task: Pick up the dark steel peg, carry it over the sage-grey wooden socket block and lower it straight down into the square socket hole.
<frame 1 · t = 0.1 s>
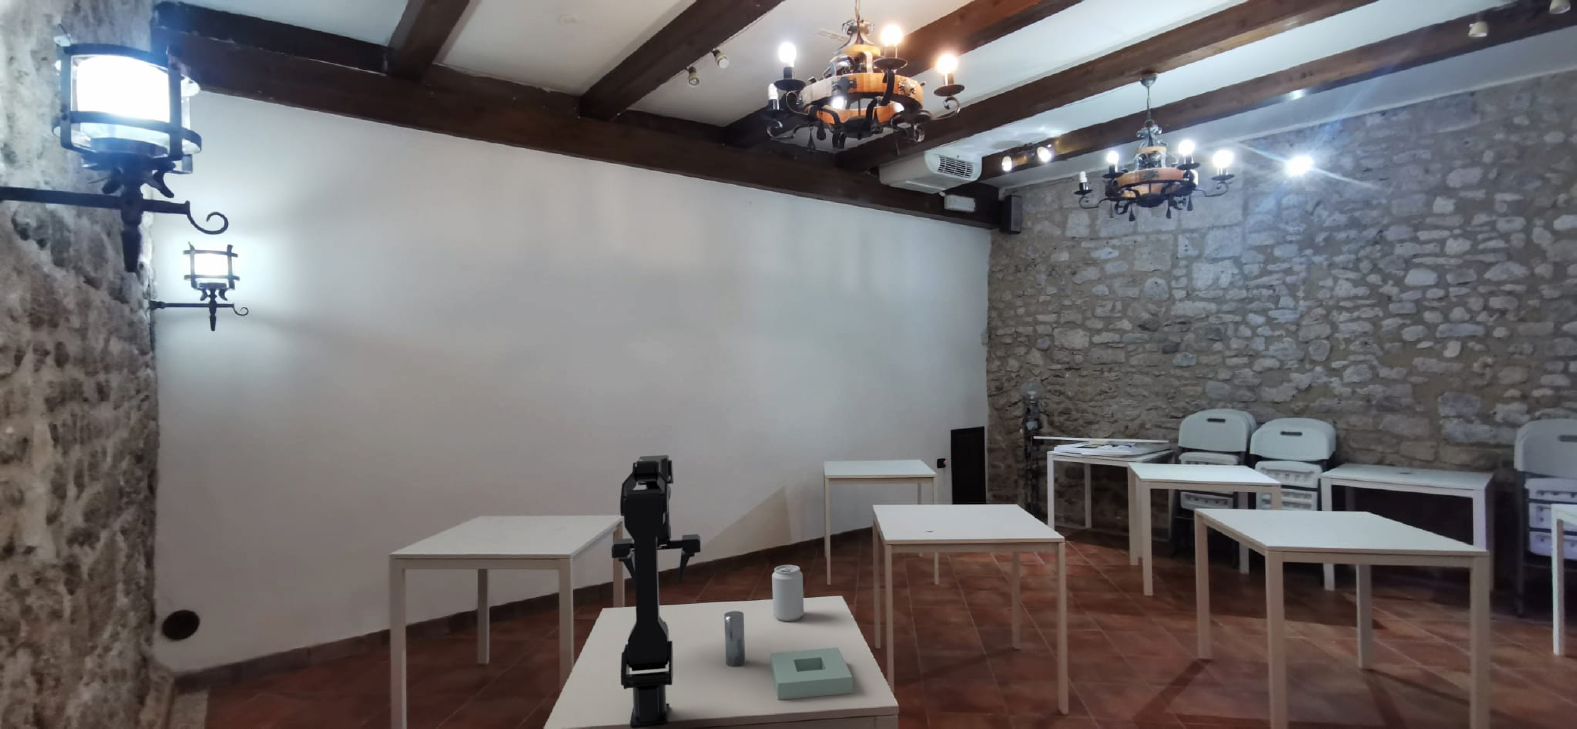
hand: (658, 585, 154), 15 cm above the table, fingers open, 9 cm apart
peg: (735, 662, 148), on the table
socket block: (810, 679, 138), on the table
can: (788, 617, 173), on the table
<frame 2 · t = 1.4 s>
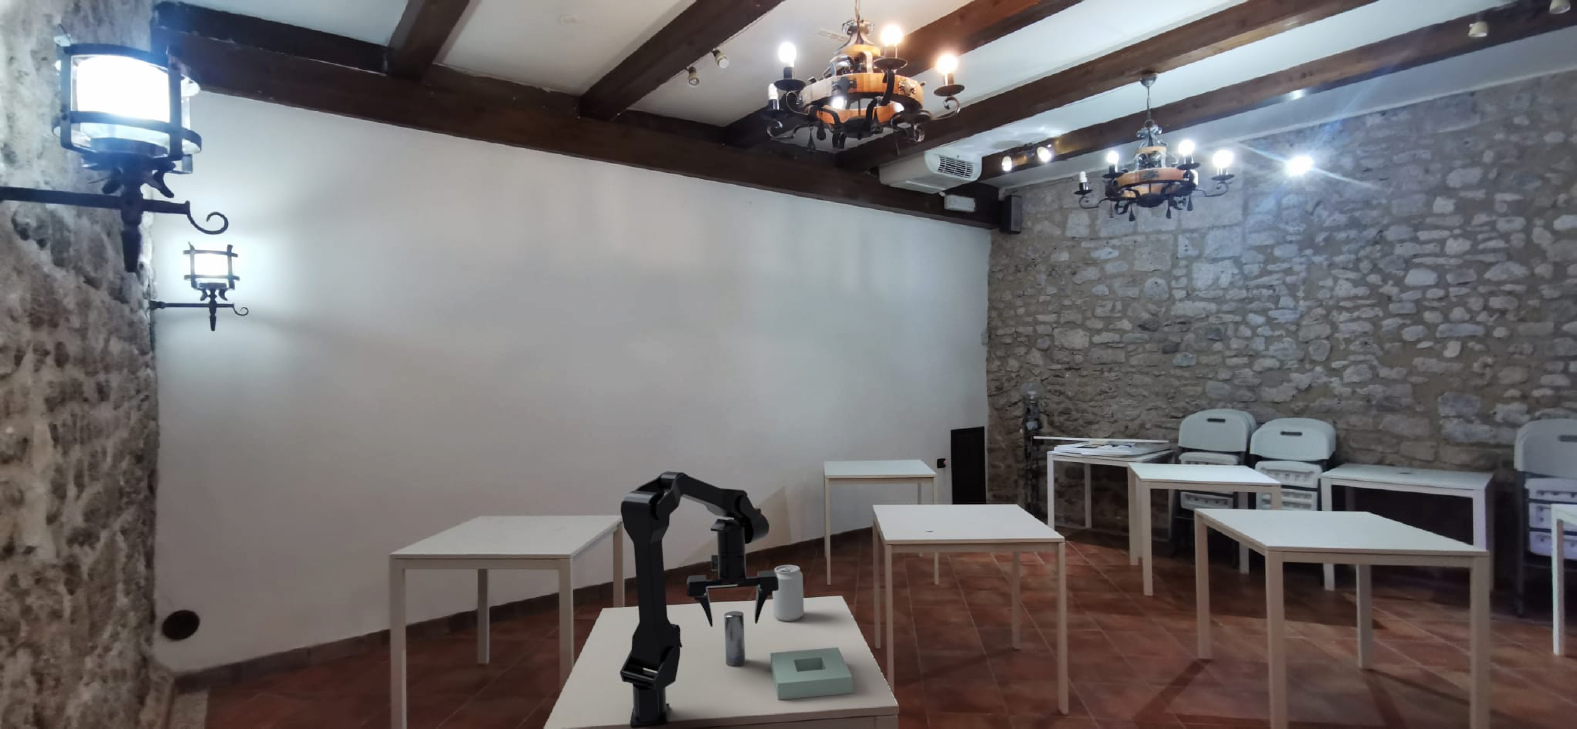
hand: (733, 624, 148), 8 cm above the table, fingers open, 9 cm apart
nothing on the table moved.
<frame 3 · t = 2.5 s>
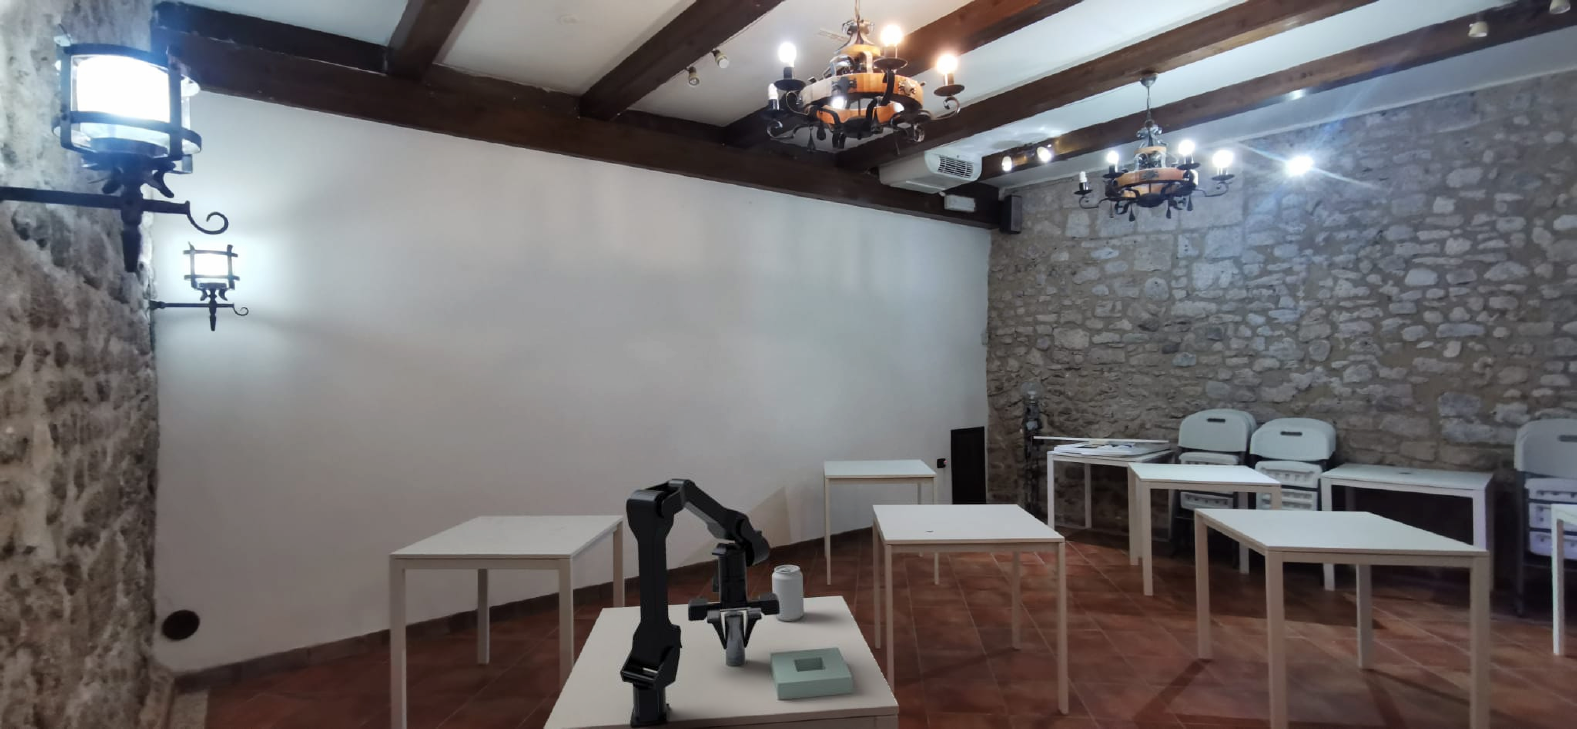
hand: (735, 647, 148), 3 cm above the table, fingers closed on peg, 4 cm apart
peg: (735, 662, 148), on the table, touching gripper
everything else where it was.
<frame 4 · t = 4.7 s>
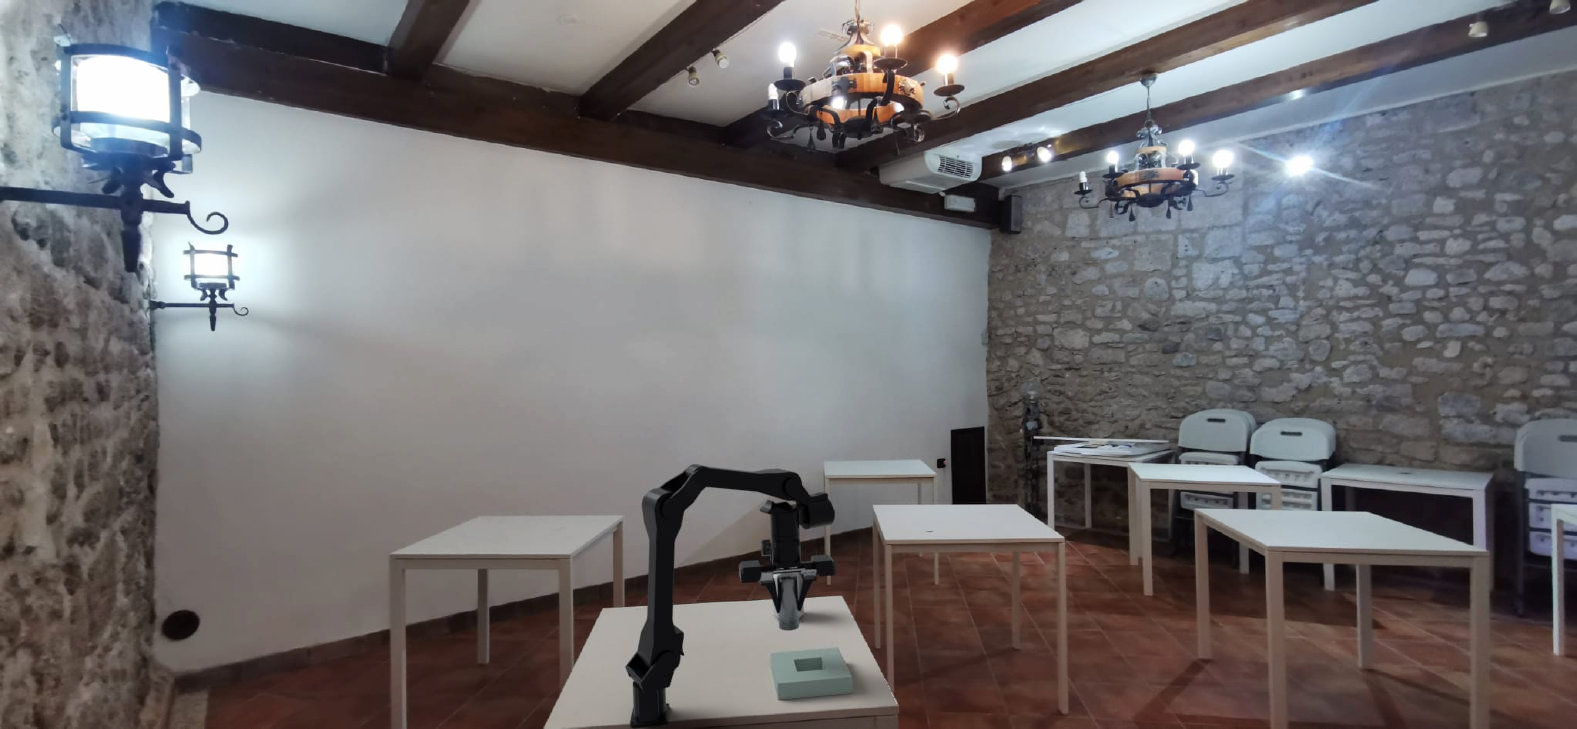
hand: (788, 611, 141), 13 cm above the table, fingers closed on peg, 4 cm apart
peg: (789, 626, 141), point 9 cm above the table, touching gripper
everything else where it was.
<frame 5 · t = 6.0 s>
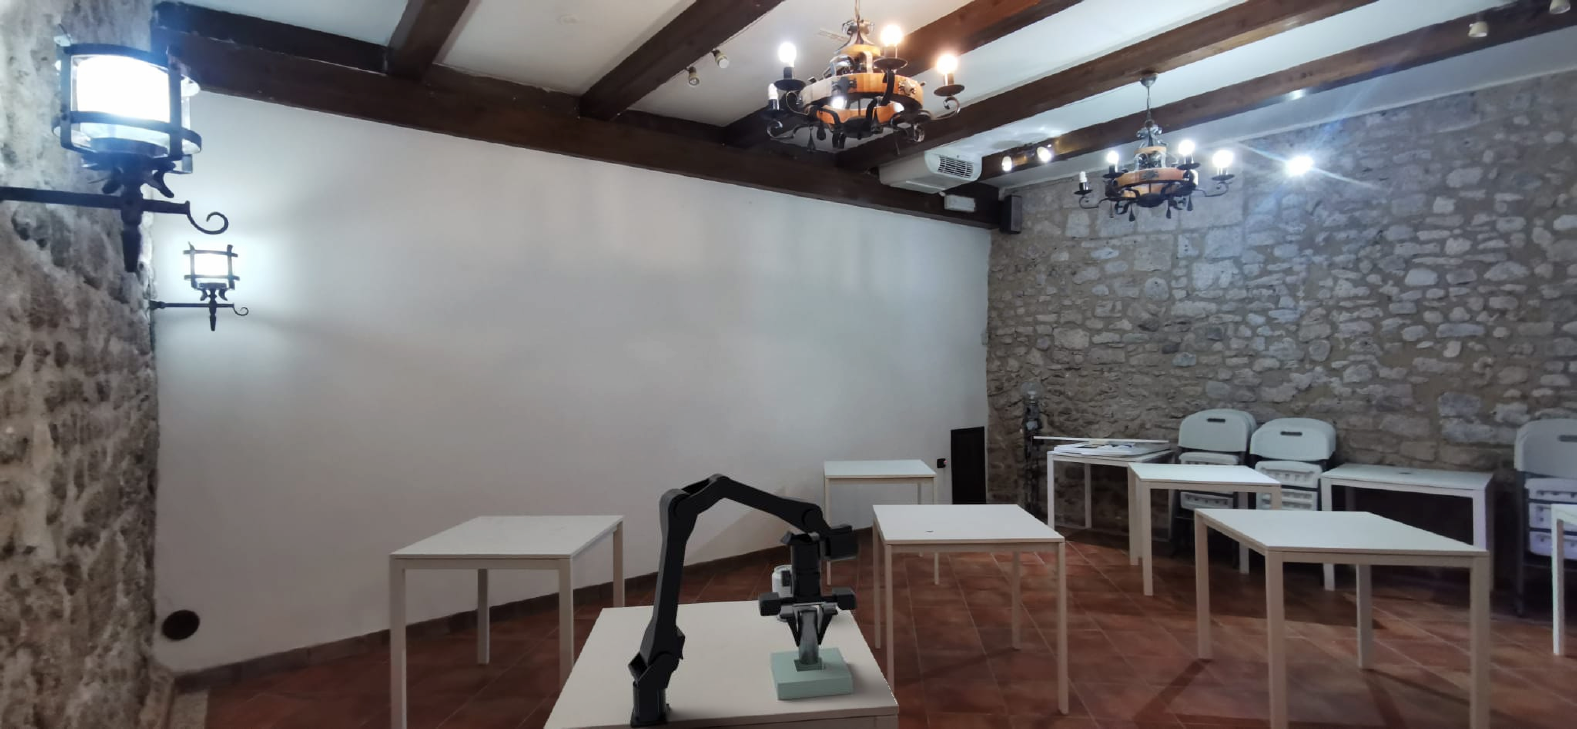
hand: (808, 645, 138), 7 cm above the table, fingers closed on peg, 4 cm apart
peg: (808, 660, 138), point 4 cm above the table, touching gripper
everything else where it was.
when the fingers open (4 cm above the table, at t = 7.0 s): peg stays where it is, resting in socket block.
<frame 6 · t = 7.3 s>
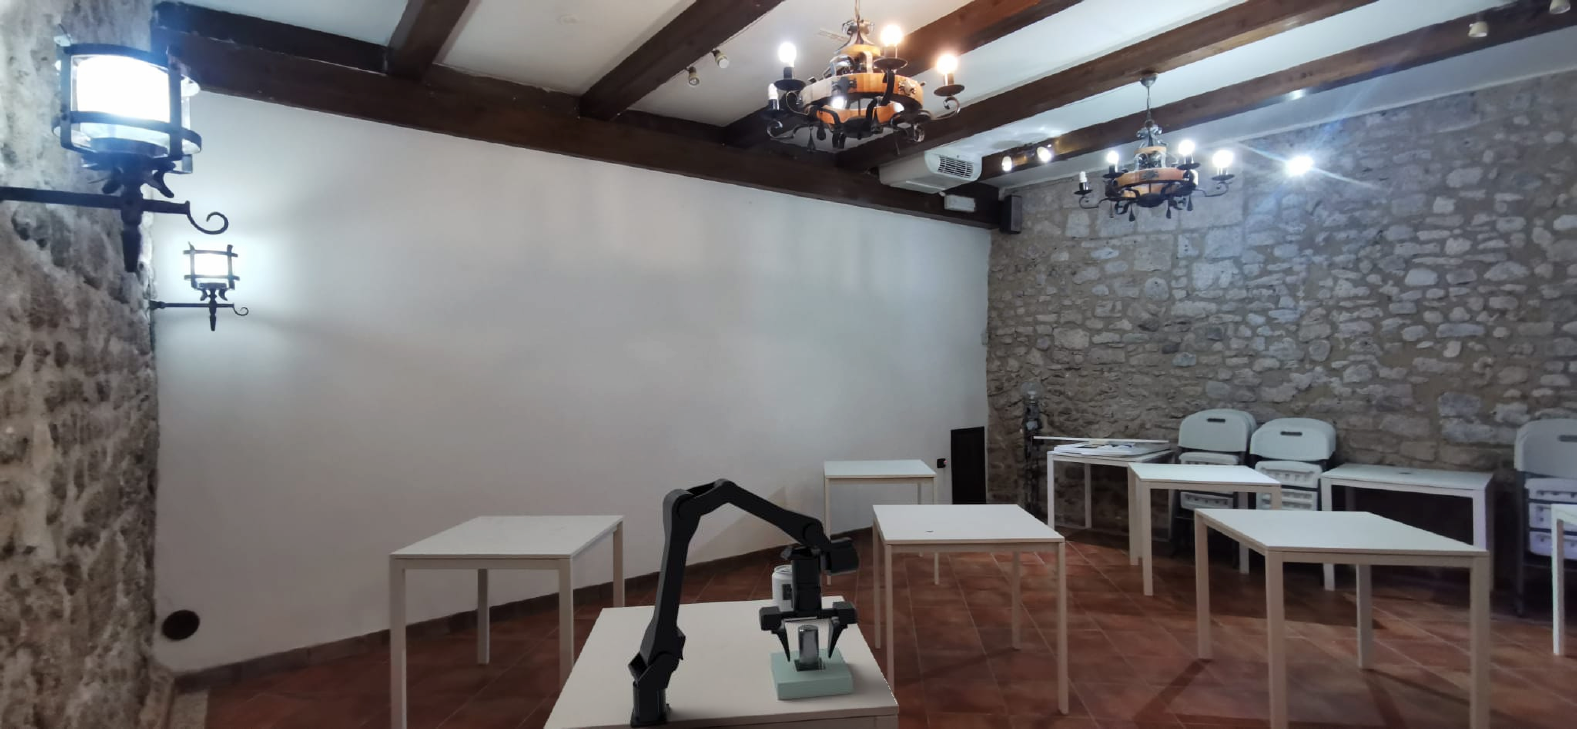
hand: (809, 659, 138), 4 cm above the table, fingers open, 8 cm apart
peg: (809, 679, 138), resting in socket block
everything else where it was.
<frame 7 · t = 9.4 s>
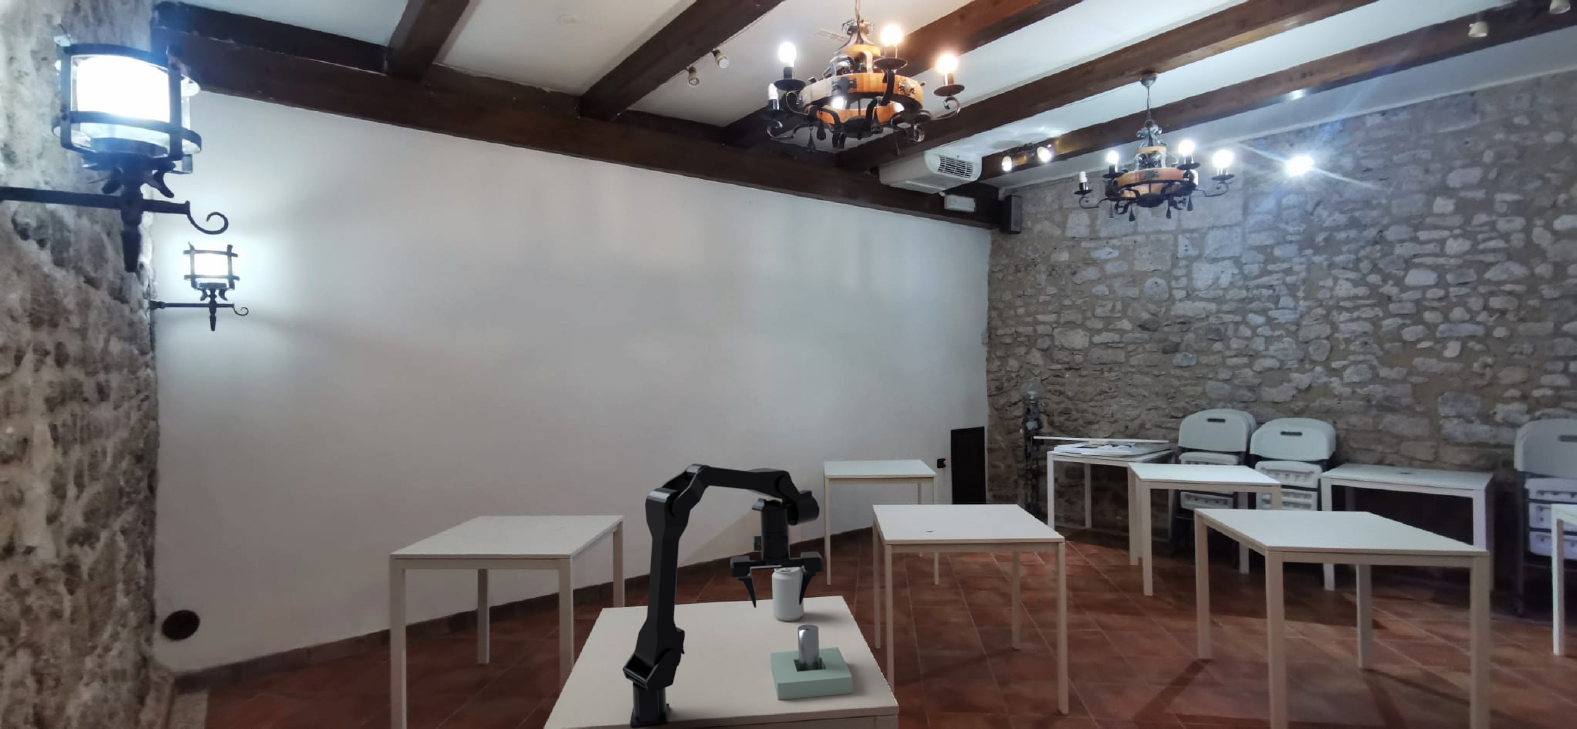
hand: (777, 605, 146), 12 cm above the table, fingers open, 9 cm apart
nothing on the table moved.
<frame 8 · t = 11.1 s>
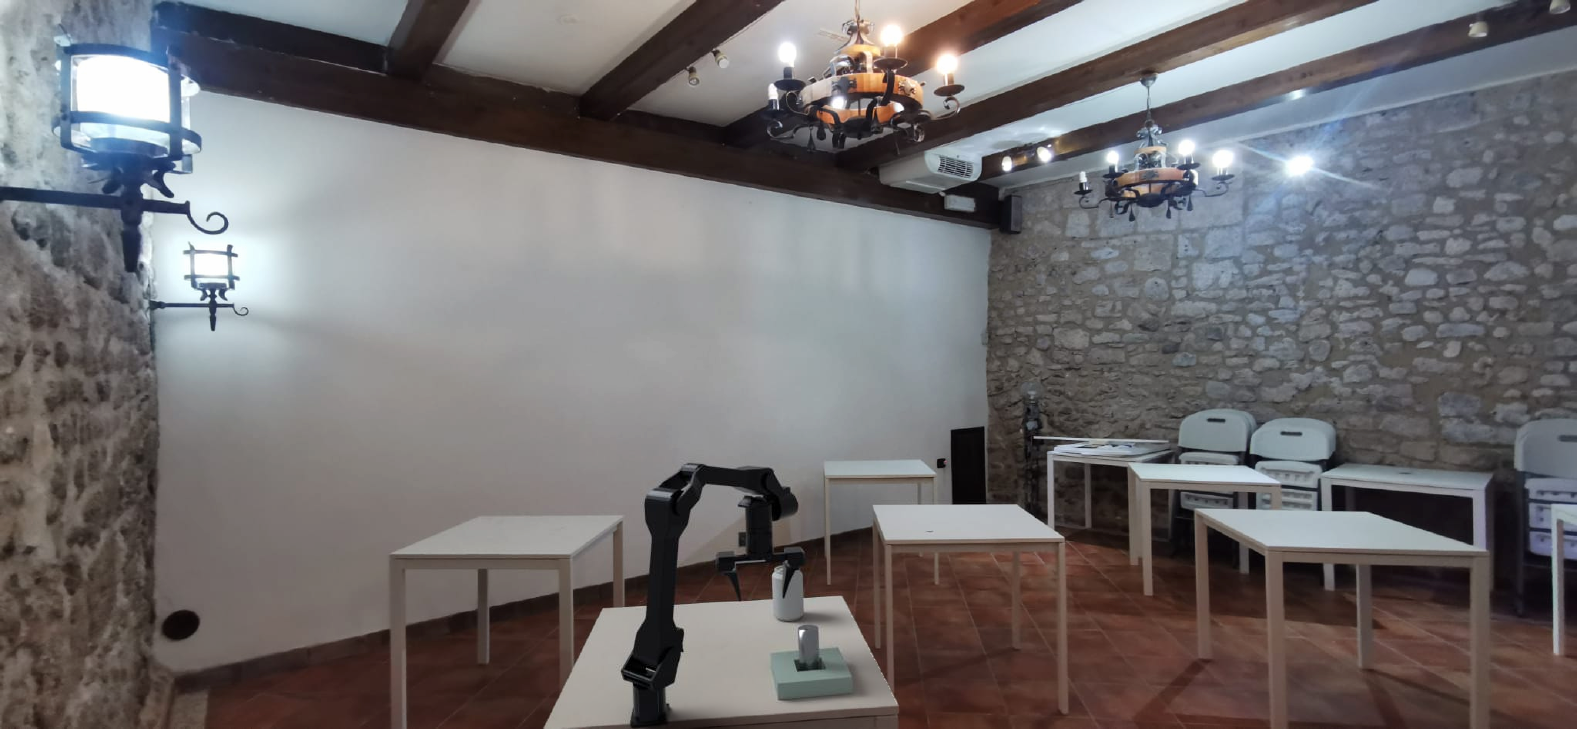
hand: (761, 599, 150), 12 cm above the table, fingers open, 9 cm apart
nothing on the table moved.
at the end: peg 0.1 cm from the socket block (horizontally); peg resting in socket block; peg tilted 0° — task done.
